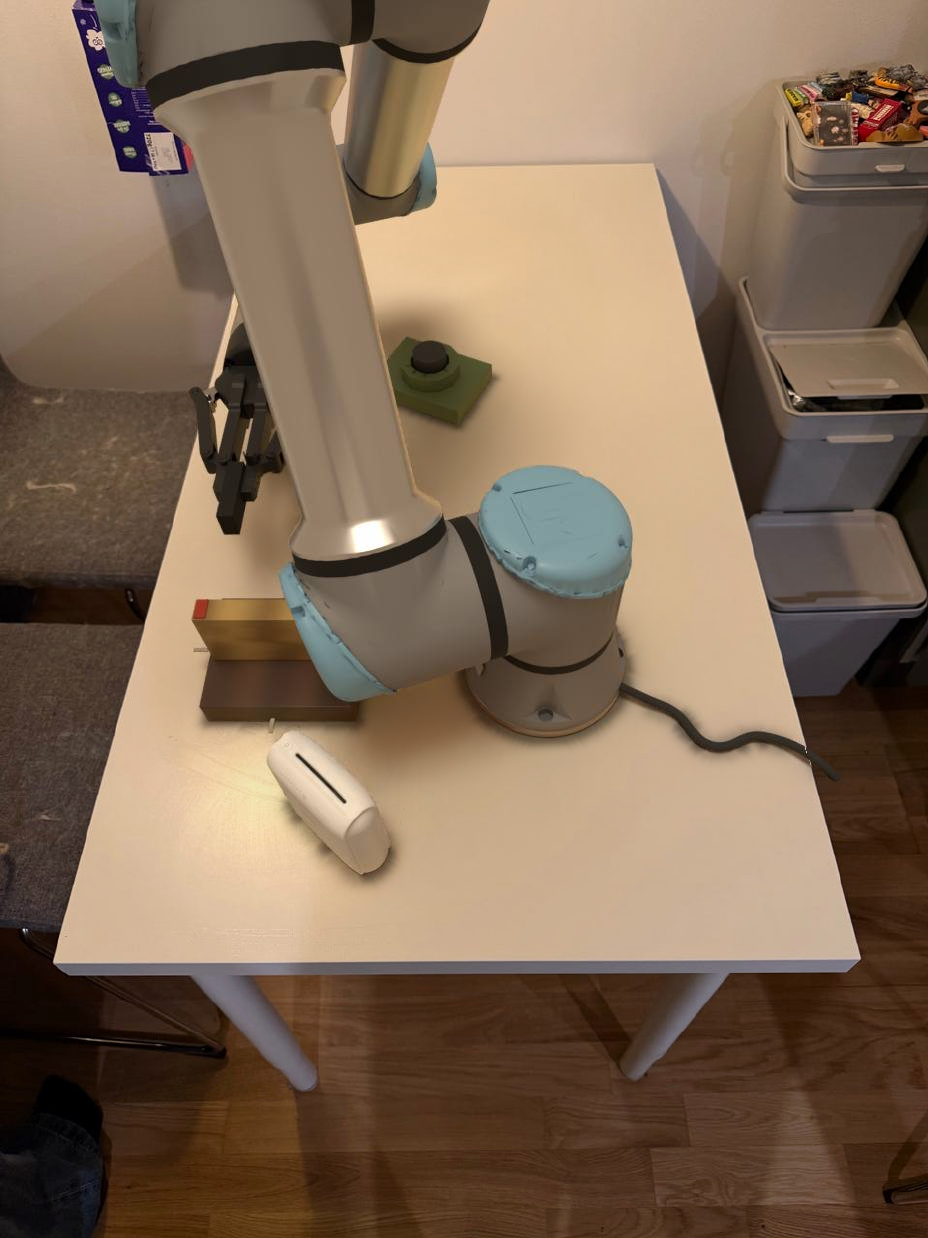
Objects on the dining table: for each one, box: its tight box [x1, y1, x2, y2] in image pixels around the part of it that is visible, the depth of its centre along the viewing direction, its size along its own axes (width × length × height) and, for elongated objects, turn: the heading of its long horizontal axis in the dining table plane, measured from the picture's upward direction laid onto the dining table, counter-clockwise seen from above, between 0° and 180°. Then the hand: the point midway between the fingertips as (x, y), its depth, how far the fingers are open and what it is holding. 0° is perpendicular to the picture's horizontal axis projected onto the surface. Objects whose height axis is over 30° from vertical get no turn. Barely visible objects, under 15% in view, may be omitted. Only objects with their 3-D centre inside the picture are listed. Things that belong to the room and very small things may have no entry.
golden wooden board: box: [191, 598, 311, 660], centre depth 76 cm, size 13×2×7 cm, turn 89°
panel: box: [192, 597, 359, 734], centre depth 81 cm, size 17×17×3 cm
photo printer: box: [266, 730, 392, 876], centre depth 68 cm, size 10×4×12 cm, turn 46°
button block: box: [386, 336, 493, 426], centre depth 101 cm, size 12×9×4 cm
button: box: [412, 340, 447, 374], centre depth 99 cm, size 4×4×2 cm
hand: (228, 525), depth 76 cm, fingers closed
